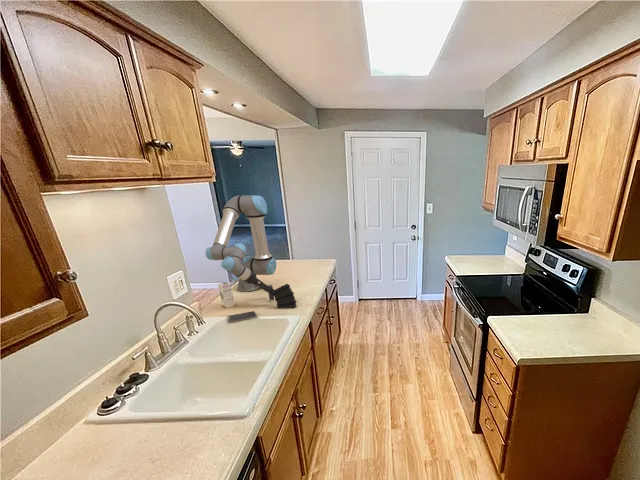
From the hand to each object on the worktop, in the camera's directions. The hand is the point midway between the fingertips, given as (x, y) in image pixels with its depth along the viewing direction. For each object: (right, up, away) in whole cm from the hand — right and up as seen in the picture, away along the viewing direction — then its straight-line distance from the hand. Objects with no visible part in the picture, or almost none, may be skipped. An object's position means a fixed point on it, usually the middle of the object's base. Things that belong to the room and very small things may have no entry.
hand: (274, 293), depth 213 cm
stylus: (-2, -5, 0) cm, 5 cm away
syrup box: (-26, -8, -7) cm, 28 cm away
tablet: (-9, -14, -25) cm, 30 cm away
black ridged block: (+10, -9, -9) cm, 17 cm away
